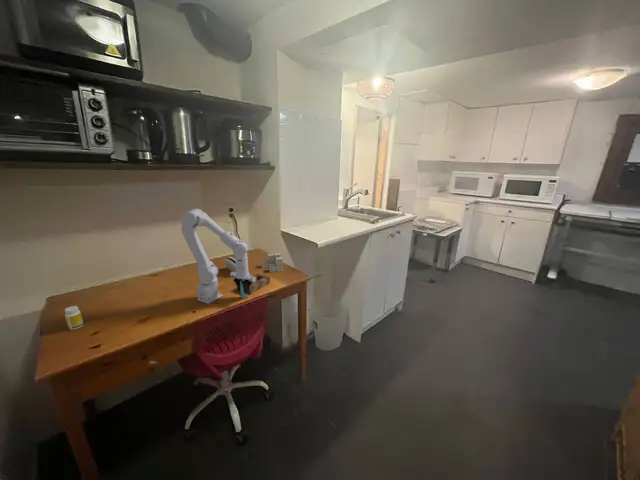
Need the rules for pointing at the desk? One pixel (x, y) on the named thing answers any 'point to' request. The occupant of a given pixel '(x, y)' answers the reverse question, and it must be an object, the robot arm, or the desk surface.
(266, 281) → the hole block
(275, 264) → the puzzle cube
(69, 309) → the supplement bottle
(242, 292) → the peg
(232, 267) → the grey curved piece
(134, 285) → the desk surface
